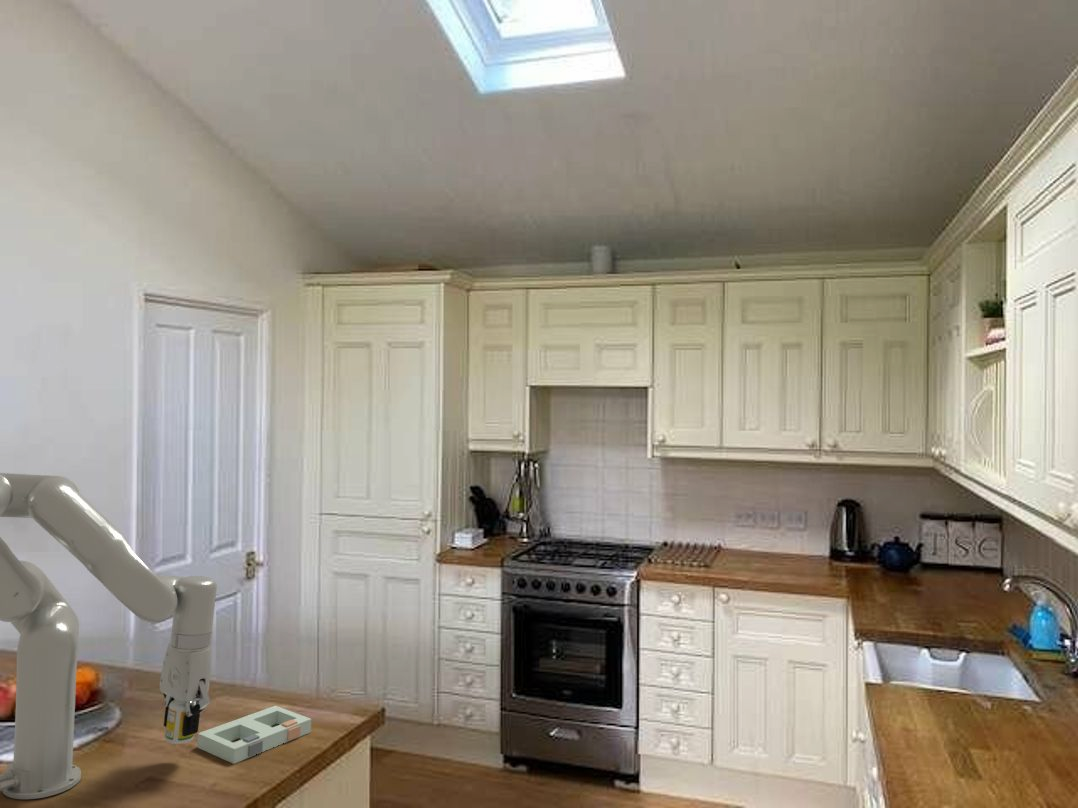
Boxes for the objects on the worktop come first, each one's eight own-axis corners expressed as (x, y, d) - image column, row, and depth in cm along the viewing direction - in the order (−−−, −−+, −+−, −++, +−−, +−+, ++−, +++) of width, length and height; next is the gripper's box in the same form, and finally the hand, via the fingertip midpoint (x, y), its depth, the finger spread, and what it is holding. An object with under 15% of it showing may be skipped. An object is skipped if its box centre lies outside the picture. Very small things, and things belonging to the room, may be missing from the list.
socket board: (235, 764, 164) (235, 747, 164) (197, 747, 171) (198, 731, 171) (311, 732, 181) (312, 717, 181) (274, 718, 188) (275, 703, 188)
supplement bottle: (160, 743, 161) (166, 694, 161) (170, 732, 166) (175, 685, 166) (188, 745, 161) (194, 696, 161) (197, 734, 166) (202, 687, 167)
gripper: (148, 632, 165) (138, 722, 165) (200, 653, 156) (189, 747, 156) (182, 626, 172) (172, 713, 171) (233, 646, 162) (223, 737, 162)
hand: (180, 728), depth 164 cm, fingers closed on supplement bottle, 5 cm apart
